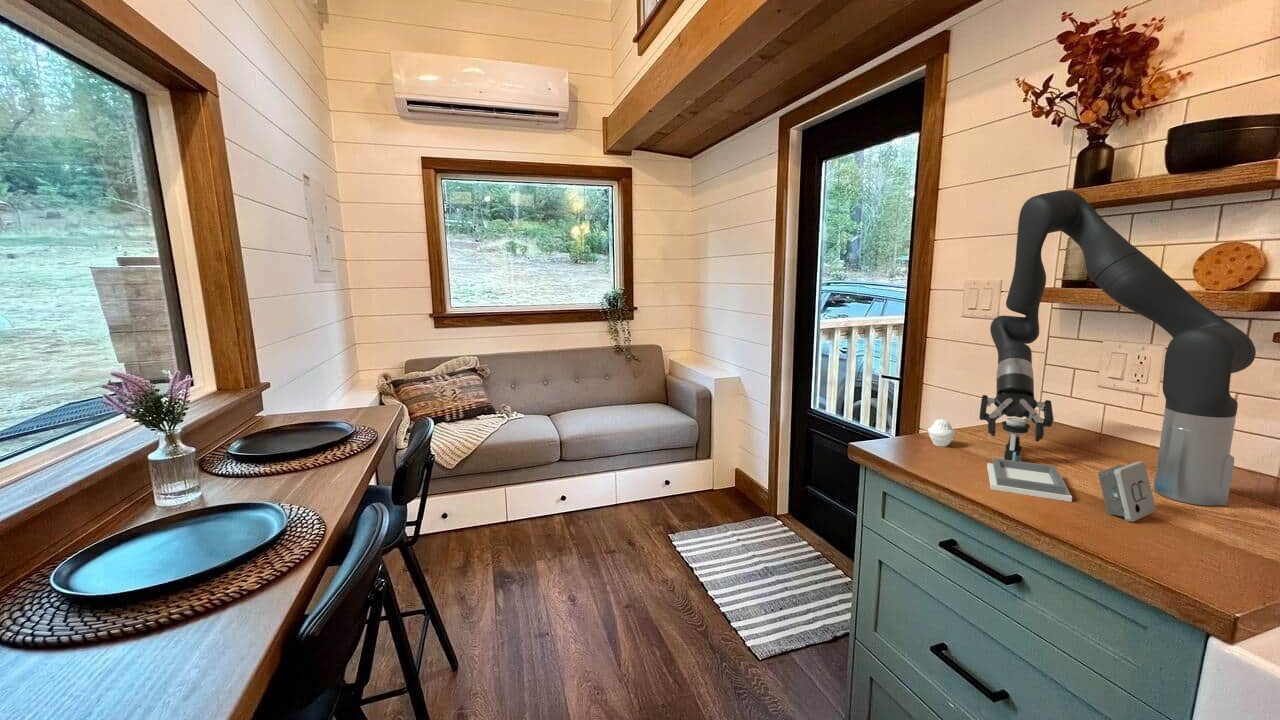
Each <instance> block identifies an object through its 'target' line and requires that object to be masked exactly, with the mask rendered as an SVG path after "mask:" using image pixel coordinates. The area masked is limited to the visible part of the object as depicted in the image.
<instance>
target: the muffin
mask: <svg viewBox="0 0 1280 720" xmlns="http://www.w3.org/2000/svg"><path fill="white" fill-rule="evenodd" d="M927 432H928V436H929V437H930V439H931V442H932V443H933V445H934V446H937V447H944V448H945V447H948V446H949V445H950V443H951V442H952V441H953V439H954V437H955V435H956V430H955V429H954V428H953V427H952V425H951V423H950V421H949V420H947V419H943V418H938V419H935V420H934V423H933V424H932V426H930V427H929V428H928V429H927Z"/></svg>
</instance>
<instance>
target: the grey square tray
mask: <svg viewBox="0 0 1280 720" xmlns="http://www.w3.org/2000/svg"><path fill="white" fill-rule="evenodd" d="M986 464H987V465H986V468H987V474H988V475H987V476H988V479H989V480H988V481H989V486H990V490H992V491H998V490H999V491H1000V492H1006V493H1013V494H1019V495H1025V496H1031V497H1038V498H1044V499H1050V500H1055V501H1062V500H1063V501H1062V502H1070V503H1072V501H1073V496H1072V494H1071V492H1070V491H1069V489H1068V487H1067V485H1066V482H1065V481H1064V480H1065V479H1063V476H1062V475H1061V473H1060V472H1058V469H1057V468H1056V465H1048V464H1041V463H1033V462H1027V461H1019V460H1017V461H1012V460H1004V458H995V457H993V460H992V463H991V462H987V463H986Z"/></svg>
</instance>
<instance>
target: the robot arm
mask: <svg viewBox="0 0 1280 720" xmlns="http://www.w3.org/2000/svg"><path fill="white" fill-rule="evenodd" d="M1020 209H1021V210H1020V212H1019V216H1018V223H1017V224H1018V225H1017V235H1016V249H1015V262H1014V269H1013V276H1012V279H1011V283H1010V286H1009V290H1008V294H1007V297H1006V301H1005V306H1006V308H1007V309H1008V310H1010V311H1011V312H1014V313H1017V314H1021V315H1024V316H1015V315H1014V316H1013V315H999V316H996V317H995V318H994V319H993V320H992V322H991V323H990V328H989V330H990V335H991V339H992V341H993V343H994V345H995V348H996V350H997V370H996V379H995V381H996V396H995V398H994V397H989V396H988V395H987V394H983V395H981V401H980V409H979V420H981V421H986V422H987V433H988V434H990V437H995V436H996V432H997V431H996V421H997V420H999V419H1001V418H1002V417H1003V416H1004V415H1005V416H1006V417H1008V418H1019V419H1023V418H1025V419H1027V421H1028V422H1030V423H1032V424H1033V425H1034V441H1035V442H1040V440H1042V439H1044V435H1045V433H1044V432H1045V431H1044V429H1045V427H1047V428H1050V427H1052V425H1053V422H1054V413H1053V407H1052V406H1053V405H1052V401H1051V400H1050V399H1046V400H1045V401H1037V400H1036V399H1035V384H1034V383H1035V381H1034V380H1035V379H1034V369H1033V360H1032V359H1033V357H1032V356H1033V355H1032V354H1033V353H1032V349H1031V347H1030V346H1029V345H1028V344H1032V343H1034V342H1036V340H1037V339H1038V338H1039V336H1040V323H1039V322H1040V319H1039V309H1040V304H1041V301H1042V297H1043V295H1044V291H1045V288H1046V283H1047V273H1046V269H1045V265H1044V263H1043V260H1042V248H1043V245H1044V243H1045V241H1046V238H1047V236H1048V234H1052V233H1055V232H1062V233H1064V234H1065V235H1066V236H1068V237H1069V238H1071V240H1072V241H1074V242H1075V243H1076V244H1077V245H1078V247H1079V248H1080V250H1081V251H1082V253H1083V259H1084V265H1085V269H1086V272H1087V275H1088V277H1089V278H1090V279H1091V281H1092V282H1093V283H1094V284H1095V285H1096V286H1098V288H1100V290H1102V291H1103V292H1104V293H1105V294H1106V295H1107V296H1108V297H1110V298H1111V299H1112V300H1113V301H1115V302H1117V303H1118V304H1120V305H1121V306H1122V307H1125V308H1127V309H1129V310H1130V311H1133V312H1134V313H1137V314H1138V315H1140V316H1142V317H1145V318H1146V319H1148V320H1150V321H1152V322H1153V323H1155V324H1156V325H1158V326H1160V328H1162V329H1163V330H1164V331H1166V332H1167V333H1168V334H1169V335H1170V336H1171V338H1172V339H1171V340H1170V341H1169V343H1168V346H1167V348H1166V351H1165V354H1164V355H1165V356H1164V362H1163V363H1164V364H1163V375H1162V393H1163V395H1164V398H1165V407H1164V411H1163V412H1164V413H1163V421H1162V427H1161V434H1160V441H1159V448H1158V454H1157V462H1156V463H1157V464H1156V469H1155V470H1156V471H1155V476H1154V484H1153V490H1154V492H1155V493H1157V494H1159V495H1161V496H1163V497H1166V498H1168V499H1171V500H1175V501H1177V502H1182V503H1187V504H1192V505H1199V506H1210V507H1211V506H1223V507H1224V506H1225V507H1227V506H1228V501H1229V496H1230V489H1231V482H1232V477H1233V470H1234V465H1235V457H1234V456H1233V455H1231V449H1232V442H1233V436H1234V430H1235V424H1236V418H1237V413H1238V403H1239V402H1238V401H1237V400H1236V399H1235V398H1233V397H1232V396H1231V394H1230V393H1231V392H1230V387H1231V386H1230V385H1231V377H1232V374H1236V373H1239V372H1241V371H1244V370H1245V369H1247V368H1248V367H1250V366H1251V365H1252V363H1253V362H1254V361H1255V358H1256V354H1257V351H1256V346H1255V344H1254V342H1253V340H1252V339H1251V338H1250V337H1249V336H1248V335H1247V334H1246V333H1245V332H1243V331H1242V330H1241V329H1239V328H1237V326H1235V325H1234V324H1232V323H1230V322H1229V321H1227V320H1226V319H1224V318H1223V317H1222V316H1220V315H1218V314H1217V313H1215V312H1214V311H1212V310H1211V309H1209V308H1208V307H1207V306H1205V305H1204V304H1202V303H1201V302H1200V301H1199V300H1197V299H1196V298H1194V296H1192V294H1190V293H1189V292H1188V291H1187V290H1186V289H1185V288H1184V287H1183V286H1181V285H1180V284H1179V282H1177V281H1176V280H1174V279H1173V278H1172V277H1171V276H1170V275H1169V274H1167V273H1166V272H1165V271H1164V270H1163V269H1162V268H1161V267H1160V266H1159V265H1158V264H1157V263H1156V262H1154V261H1153V260H1152V259H1150V257H1148V256H1147V255H1146V254H1144V253H1143V252H1142V251H1141V250H1140V249H1138V248H1137V247H1136V246H1134V245H1132V243H1130V242H1129V241H1128V240H1127V239H1126V238H1124V236H1122V235H1121V234H1120V233H1119V232H1118V231H1117V230H1116V229H1114V228H1113V227H1112V226H1111V225H1110V224H1108V223H1107V222H1106V220H1105V219H1103V217H1102V216H1101V215H1100V214H1099V213H1098V212H1097V211H1096V210H1095V209H1094V208H1093V206H1092V205H1091V204H1090V203H1089V202H1088V201H1087V200H1086V199H1085V198H1084V197H1083V196H1082V195H1080V194H1079V193H1078V192H1075V191H1074V190H1071V189H1060V190H1056V191H1052V192H1050V191H1049V192H1046V193H1045V192H1044V193H1041V194H1037V195H1035V196H1031V197H1030V198H1028V199H1027V200H1026V201H1025V202H1024V203H1023V205H1022V207H1021V208H1020ZM992 404H994V406H995V407H996V408H995V409H994V410H993V411H992V412H991V413H990V414H989V413H987V408H988V407H991V405H992ZM1036 408H1038V409H1039V410H1040V411H1041V412H1043V418H1042V417H1041V416H1040V415H1039V414H1038V412H1037V411H1036V410H1035V409H1036Z"/></svg>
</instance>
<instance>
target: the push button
mask: <svg viewBox="0 0 1280 720" xmlns="http://www.w3.org/2000/svg"><path fill="white" fill-rule="evenodd" d="M1001 425H1002V429H1003V431H1005V432H1006V433H1008V434H1010V435H1009V438H1008V442H1007V444H1005V451H1004V458H1003V459H1004V460H1012V461H1020V462H1022V461H1021V460H1022V454H1021V452H1022V450H1023V449H1022V448H1023V447H1022V445H1021V441H1020V438H1021V437H1020V435H1024V434H1027V433H1029V429H1030V427H1031V425H1030V424H1028V423H1026V420H1025V419H1023V418H1019V417H1008V418H1006V420H1004V421H1002V422H1001Z"/></svg>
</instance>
